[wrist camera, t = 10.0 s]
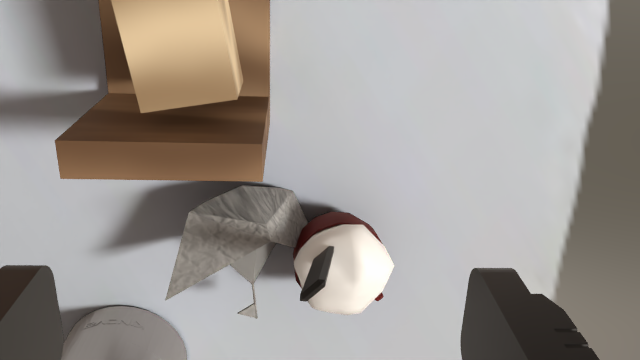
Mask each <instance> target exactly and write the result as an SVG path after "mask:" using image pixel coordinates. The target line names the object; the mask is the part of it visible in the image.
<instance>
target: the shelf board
mask: <svg viewBox="0 0 640 360" xmlns="http://www.w3.org/2000/svg"><path fill="white" fill-rule="evenodd" d="M111 2H112V6H113V9H114V13H115V17H116V21H117V25H118V28H119V32H120V36H121V40H122V43H123V47H124V51H125V55H126V59H127V62H128V66H129V70H130V74H131V78H132V81H133V85H134V89H135V93H136V96H137V100H138V104H139V108H140V112H141V113H146V112H153V111H160V110H167V109H174V108H181V107H188V106H195V105H202V104H209V103H216V102H223V101H230V100H237V99H238V96H239V93H240V90H241V87H242V84H243V76H242V71H241V66H240V60H239V55H238V50H237V44H236V39H235V34H234V29H233V23H232V18H231V13H230V7H229V2H228V0H111Z"/></svg>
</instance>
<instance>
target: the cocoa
mask: <svg viewBox="0 0 640 360" xmlns="http://www.w3.org/2000/svg"><path fill="white" fill-rule="evenodd" d="M293 258H294V269H295V277H296V281H297V283H298V284H299V285H300V287H301V288H302V291H301V294H300V301H308V302H309V304H310V305H311V307H312V308H315V309H317V310H321V311H325V312H330V313H336V314H343V315H350V314H357V313H361V312H362V311H363V310H364V309H365V308H366V307H367V306H368V305H369V304H370V303H371V302H372V301H373V300H374V299H375V300H376V301H379V300H381V299H382V298H383V294H382V291H383V289H384V287H385V285H386V283H387V281H388V279H389V276H390V274H391V272H392V270H393V268H394V264H393V262H392V260H391V258H390V256H389V254H388V252H387V250H386V248H385V246H384V245H383V244H382V242H381V241H380V239H379V237H378V236H377V234H376V233H375V231H374V229H373V228H372V227H371V226H370V225H369V224H367V223H365V222H364V221H362V220H360V219H359V218H357V217H355V216H353V215H352V214H350V213H344V212H329V213H326V214H323V215H320V216H317V217H315V218H314V219H313V220H312V221H310V222H309V223H308V224H307V225H306V226H305V227H304V228H303V229H302V231H301V233H300V236H299V238H298V241H297V245H296V248H294V252H293Z"/></svg>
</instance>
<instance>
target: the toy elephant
mask: <svg viewBox="0 0 640 360" xmlns="http://www.w3.org/2000/svg"><path fill="white" fill-rule="evenodd" d="M307 224H308V222H307V220H306V218H305V216H304V213H303V211H302V209H301V207H300V205H299V203H298V201H297V199H296V197H295V194H294V192H293V191H290V190H286V189H281V188H276V187H258V186H240V187H238V188H235V189H233V190H231V191H228V192H226V193H224V194H222V195H219V196H217V197H215V198H212V199H210V200H208V201H206V202H204V203H202V204H201V205H199V206H198V207H196V208H195V209H193V210H191V211H190V212H189V213H188V217H187V221H186V224H185V228H184V232H183V236H182V239H181V243H180V247H179V251H178V255H177V258H176V262H175V266H174V270H173V273H172V277H171V281H170V285H169V289H168V292H167V296H166V300H167V299H169V298H171V297H173V296H174V295H176V294H178V293H180V292H182V291H183V290H185V289H187V288H189V287H190V286H192V285H194V284H196V283H198V282H199V281H201V280H203V279H205V278H206V277H208V276H210V275H212V274H214V273H215V272H217V271H219V270H221V269H222V268H224V267H226V266H228V265H231V266H232V267H233V268H234V269H235V270H236V271H237V272H239V273H240V274H241V275H242V276H243V277H244V278H245V279H247V280H248V281H249V282H250V283H251V284H252V289H253V299H254V303H253V304H252V305H250V306H248V307H247V308H245V309H243V310H242V311H240V312H238V314H242V315H246V316H250V317H254V318H257V309H256V300H255V291H254V282H255V280H256V279H257V277H258V275H259V273H260V271H261V269H262V268H263V266H264V264H265V262H266V260H267V258H268V257H269V255H270V253H271V251H272V249H273V247H274V245H275V244H276V243H279V244H283V245H286V246H290V247H294V248H296V245H297V241H298V238H299V236H300V233H301V231H302V229H303V228H304V227H305V226H306V225H307ZM166 300H165V301H166Z"/></svg>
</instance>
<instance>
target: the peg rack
mask: <svg viewBox="0 0 640 360" xmlns="http://www.w3.org/2000/svg"><path fill="white" fill-rule="evenodd" d="M98 1H99V10H100V19H101V28H102V38H103V47H104V56H105V66H106V75H107V84H108V94H107V95H106V96H105V97H104V98H103V99H101V100H100V101H99V102H98V103H97V104H96V105H95V106H93V107H92V108H91V109H90V110H89V111H88V112H87V113H86V114H84V115H83V116H82V117H81V118H80V119H79V120H78V121H76V122H75V123H74V124H73V125H72V126H71V127H70V128H69V129H67V130H66V131H65V132H64V133H63V134H62V135H61V136H59V137H58V138H57V139H56V140H55V144H56V151H57V158H58V165H59V171H60V178H61V179H120V180H188V181H257V182H262V181H263V173H264V165H265V157H266V149H267V141H268V133H269V125H270V0H228V2H229V7H230V13H231V18H232V23H233V29H234V34H235V39H236V44H237V50H238V55H239V60H240V66H241V71H242V76H243V84H242V87H241V90H240V93H239V96H238V99H237V100H230V101H223V102H216V103H209V104H202V105H195V106H188V107H181V108H174V109H167V110H160V111H153V112H146V113H141V112H140V108H139V104H138V100H137V96H136V93H135V89H134V85H133V81H132V78H131V74H130V70H129V66H128V62H127V59H126V55H125V51H124V47H123V43H122V40H121V36H120V32H119V28H118V25H117V21H116V17H115V13H114V9H113V6H112V2H111V0H98Z"/></svg>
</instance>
